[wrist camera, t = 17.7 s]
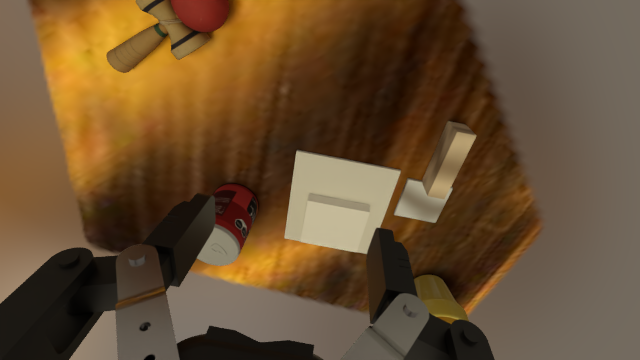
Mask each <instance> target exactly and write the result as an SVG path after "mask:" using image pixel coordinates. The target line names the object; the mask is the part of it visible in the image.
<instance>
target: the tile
mask: <svg viewBox="0 0 640 360" xmlns="http://www.w3.org/2000/svg"><path fill="white" fill-rule="evenodd" d="M369 214H370V208H369V205H367V204H361V203H356V202H351V201H346V200H341V199H335V198H330V197H325V196H320V195H314V194H309V197H308V201H307V207H306V212H305V218H304V223H303V229H302V235H301V240H300V242H304V243H309V244H314V245H320V246H325V247H330V248H336V249H341V250H346V251H352V252H357V250H358V247H359V244H360V241H361V238H362V235H363V232H364V229H365V226H366V223H367V220H368V217H369Z"/></svg>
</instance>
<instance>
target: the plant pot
mask: <svg viewBox="0 0 640 360" xmlns="http://www.w3.org/2000/svg"><path fill="white" fill-rule="evenodd" d="M414 282H415V287H416V291H417V295H418V298H419V299H420V300H422V302H423V303H424V304H425V305H426V307H427V309H428V311H429V313H431V314H432V315H434V316H436V317H438V318H440V319H442V320H444V321H446V322H448V323H450V324H452V322H453V321H455V320H458V319H462V320H466V321H469V320H468V317H467V315H466V312H465V310H464V309H463V308H462V307H461V306H460V305H459V304H458V303H457V302H456V301H455V299H454V297H453V296H452V294H451V292H450V291H449V289H448V287H447V286H446V284H445V282H444V281H443V280H442V279H441V278H440V277H438V276H435V275H422V276H419V277H417V278H415V279H414Z"/></svg>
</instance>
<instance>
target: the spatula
mask: <svg viewBox="0 0 640 360" xmlns="http://www.w3.org/2000/svg"><path fill="white" fill-rule="evenodd" d="M475 138H476V135H475V134H474V133H473V132H472V131H471V129H470V128H469V127H468V126H467V125H465V124H460V123H455V122H450V121H448V122H447V124H446V126H445V129H444V131H443V133H442V136H441V138H440V140H439V143H438V145H437V147H436V149H435V152H434V154H433V156H432V159H431V161H430V163H429V166H428V168H427V170H426V172H425V175H424V177H423V179H422V181H421V180H416V179H411V178H408V179H407V181H406V183H405V186H404V188H403V191H402V193H401V196H400V198H399V201H398V203H397V206H396V208H395V211H394V215H398V216H403V217H408V218H413V219H418V220H423V221H429V222H434V223H435V222H436V220H437V219H438V217H439V215H440V213H441V211H442V209H443V207H444V205H445V203H446V201H447V199H448V197H449V195H450V193H451V191H452V189H453V188H452V186H451V185H452V183H453V181H454V179H455V178H456V176H457V174H458V172H459V170H460V168H461V166H462V164H463V162H464V160H465V158H466V156H467V154H468V152H469V150H470V148H471V146H472V144H473V142H474V140H475Z"/></svg>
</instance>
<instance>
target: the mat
mask: <svg viewBox="0 0 640 360" xmlns="http://www.w3.org/2000/svg"><path fill="white" fill-rule="evenodd" d="M400 172H401V170H400V169H395V168H389V167H384V166H379V165H374V164H369V163H364V162H358V161H353V160H348V159H343V158H338V157H332V156H327V155H322V154H317V153H312V152H307V151H301V150H297V152H296V159H295V166H294V173H293V180H292V187H291V194H290V202H289V209H288V216H287V223H286V230H285V237H284V238H286V239H291V240H296V241H300V240H301V235H302V229H303V223H304V218H305V212H306V207H307V201H308V197H309V194H314V195H320V196H325V197H330V198H335V199H341V200H346V201H351V202H356V203H361V204H367V205H369V208H370V214H369V217H368V220H367V223H366V226H365V229H364V232H363V235H362V238H361V241H360V244H359V247H358V250H357V252H360V253H365V254H367V252H368V248H369V245H370V243H371V240H372V237H373V234H374V232H375V229H376V228H380V226H381V223H382V221H383V218H384V215H385V213H386V210H387V207H388V204H389V202H390V199H391V196H392V194H393V191H394V188H395V186H396V183H397V180H398V178H399V175H400Z"/></svg>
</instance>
